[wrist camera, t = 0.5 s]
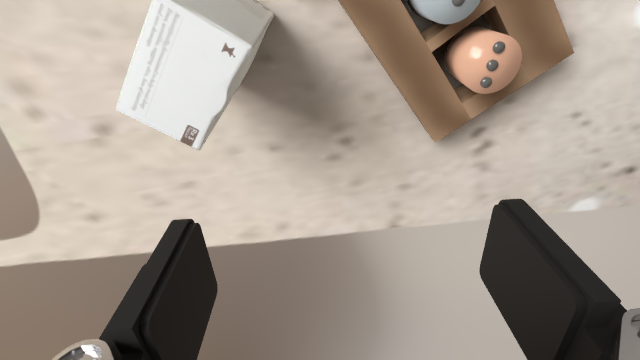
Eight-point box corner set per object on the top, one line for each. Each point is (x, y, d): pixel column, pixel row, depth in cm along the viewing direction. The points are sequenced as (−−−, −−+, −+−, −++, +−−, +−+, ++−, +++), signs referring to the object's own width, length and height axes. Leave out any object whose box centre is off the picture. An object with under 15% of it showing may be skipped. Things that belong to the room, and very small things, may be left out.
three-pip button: (483, 14, 30) (509, 20, 27) (505, 58, 32) (532, 70, 28) (435, 50, 32) (452, 60, 28) (459, 90, 34) (478, 105, 30)
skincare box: (219, -25, 30) (151, -26, 18) (279, 15, 32) (257, 42, 19) (184, 58, 34) (105, 109, 21) (239, 91, 36) (198, 156, 23)
